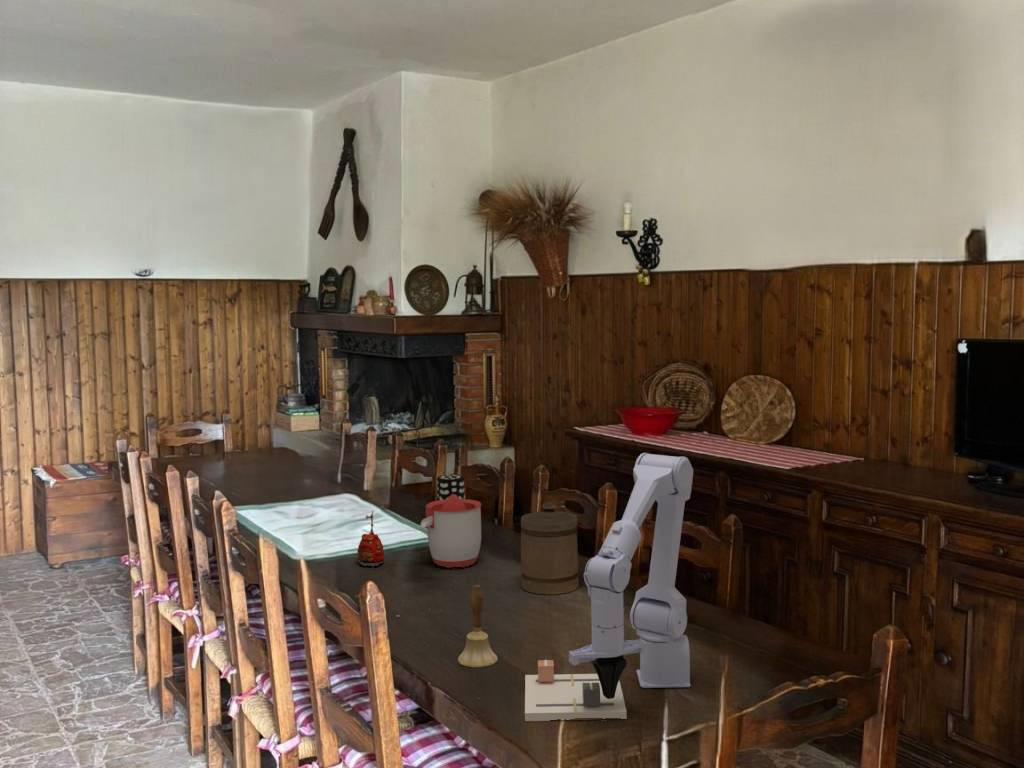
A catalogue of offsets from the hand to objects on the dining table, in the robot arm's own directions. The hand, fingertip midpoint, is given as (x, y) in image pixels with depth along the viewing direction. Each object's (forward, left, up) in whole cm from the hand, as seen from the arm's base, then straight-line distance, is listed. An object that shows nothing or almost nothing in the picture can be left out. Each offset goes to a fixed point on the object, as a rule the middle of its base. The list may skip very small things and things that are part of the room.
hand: (608, 696), depth 173 cm
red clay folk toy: (+59, -98, -3) cm, 115 cm away
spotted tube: (+38, -122, -3) cm, 128 cm away
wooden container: (+9, -75, -3) cm, 76 cm away
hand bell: (+25, -26, -3) cm, 36 cm away
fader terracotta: (+11, -11, -1) cm, 16 cm away
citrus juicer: (+36, -97, -3) cm, 104 cm away
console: (+6, -6, -3) cm, 9 cm away
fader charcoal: (+3, 0, -1) cm, 3 cm away
